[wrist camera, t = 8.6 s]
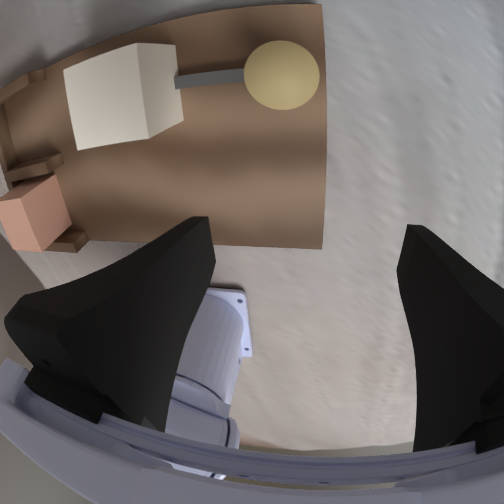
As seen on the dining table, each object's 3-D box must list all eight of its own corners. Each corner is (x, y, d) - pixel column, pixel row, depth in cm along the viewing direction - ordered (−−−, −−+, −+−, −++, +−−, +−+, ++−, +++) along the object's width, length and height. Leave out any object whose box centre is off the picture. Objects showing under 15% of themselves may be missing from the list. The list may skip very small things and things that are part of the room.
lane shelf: (321, 241, 21) (322, 267, 19) (45, 233, 26) (28, 249, 24) (320, 7, 12) (323, -4, 10) (5, 94, 17) (-17, 103, 15)
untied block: (72, 223, 23) (42, 252, 20) (41, 224, 24) (13, 249, 21) (55, 173, 20) (20, 198, 17) (25, 180, 21) (-7, 202, 18)
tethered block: (317, 115, 15) (320, 134, 11) (118, 129, 18) (72, 153, 14) (314, 33, 12) (316, 18, 8) (108, 62, 15) (57, 71, 11)
